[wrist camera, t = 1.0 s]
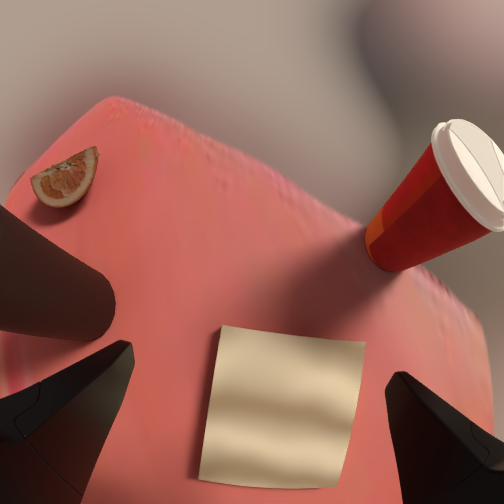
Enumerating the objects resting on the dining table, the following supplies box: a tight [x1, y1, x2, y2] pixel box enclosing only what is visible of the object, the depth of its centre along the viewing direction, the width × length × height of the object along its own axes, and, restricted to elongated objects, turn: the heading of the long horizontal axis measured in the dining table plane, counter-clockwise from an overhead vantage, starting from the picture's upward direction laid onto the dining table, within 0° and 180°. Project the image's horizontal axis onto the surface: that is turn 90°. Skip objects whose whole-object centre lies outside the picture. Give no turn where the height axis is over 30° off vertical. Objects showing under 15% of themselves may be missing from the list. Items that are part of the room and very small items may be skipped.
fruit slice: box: [30, 146, 100, 208], centre depth 23 cm, size 8×7×5 cm
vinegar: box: [0, 205, 116, 341], centre depth 12 cm, size 7×7×20 cm
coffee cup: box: [365, 119, 504, 272], centre depth 18 cm, size 8×8×15 cm
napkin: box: [198, 325, 366, 488], centre depth 19 cm, size 14×12×2 cm
